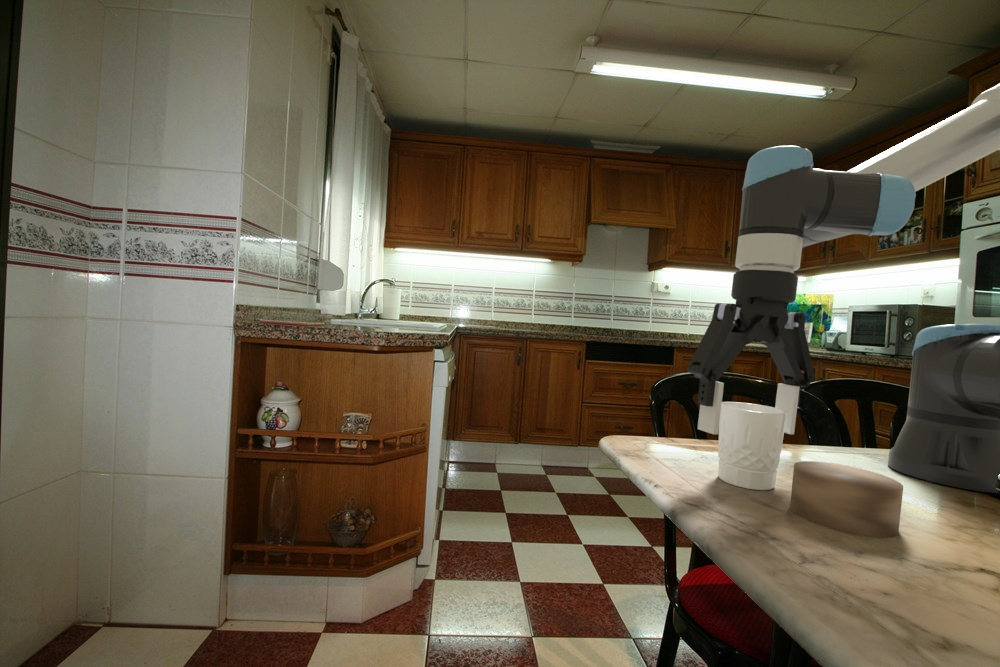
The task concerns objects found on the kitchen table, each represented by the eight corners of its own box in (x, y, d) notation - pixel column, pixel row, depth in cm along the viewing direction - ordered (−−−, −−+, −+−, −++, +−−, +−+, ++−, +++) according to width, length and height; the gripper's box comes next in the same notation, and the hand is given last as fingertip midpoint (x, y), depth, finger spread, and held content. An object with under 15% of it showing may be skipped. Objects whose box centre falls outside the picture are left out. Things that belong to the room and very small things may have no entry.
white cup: (764, 476, 70) (770, 405, 70) (790, 495, 63) (798, 415, 62) (705, 470, 71) (712, 399, 71) (725, 488, 63) (732, 409, 63)
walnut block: (851, 504, 61) (855, 464, 61) (924, 541, 51) (929, 493, 51) (771, 499, 61) (775, 458, 61) (829, 536, 51) (834, 487, 51)
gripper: (804, 282, 74) (787, 425, 75) (670, 260, 65) (652, 424, 65) (857, 281, 67) (837, 438, 68) (715, 256, 58) (694, 439, 58)
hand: (746, 432), depth 67 cm, fingers open, 13 cm apart
